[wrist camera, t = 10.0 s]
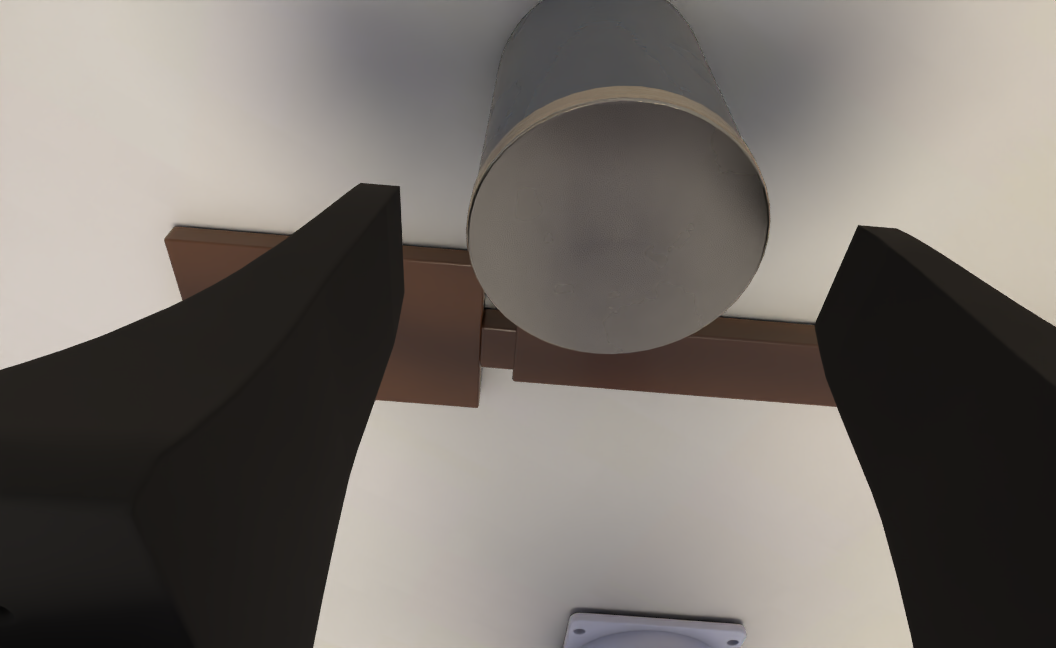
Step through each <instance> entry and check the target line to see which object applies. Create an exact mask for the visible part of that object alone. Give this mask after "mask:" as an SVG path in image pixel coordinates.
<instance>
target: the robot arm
mask: <svg viewBox="0 0 1056 648" xmlns="http://www.w3.org/2000/svg"><path fill="white" fill-rule="evenodd" d="M404 293H405V289H404V267H403V245H402V224H401V202H400V186H390V185H378V184H367V183H360V184H358V185H357V186H355V187H354V188H353V189H351V190H350V191H349V192H347V193H346V194H345V195H343V196H342V197H341V198H340V199H338V200H337V201H336V202H334V203H333V204H332V205H331V206H329V207H328V208H327V209H325V210H324V211H323V212H322V213H320V214H319V215H318V216H316V217H315V218H314V219H312V220H311V221H310V222H308V223H307V224H305V225H304V226H303V227H301V228H300V229H299V230H297V231H296V232H295V233H293V234H292V235H291V236H289V237H288V238H287V239H285V240H284V241H282V242H281V243H279V244H278V245H276V246H275V247H273V248H272V249H270V250H268V251H267V252H265V253H264V254H262V255H261V256H259V257H258V258H256V259H255V260H253V261H252V262H250V263H249V264H247V265H246V266H244V267H243V268H241V269H240V270H238V271H236V272H235V273H233V274H231V275H229V276H228V277H226V278H224V279H223V280H221V281H219V282H217V283H215V284H214V285H212V286H210V287H208V288H206V289H204V290H202V291H200V292H198V293H197V294H195V295H193V296H191V297H189V298H187V299H185V300H183V301H181V302H179V303H177V304H175V305H173V306H171V307H169V308H166V309H164V310H162V311H159V312H157V313H155V314H152V315H150V316H148V317H145V318H143V319H141V320H138V321H136V322H134V323H131V324H129V325H127V326H124V327H122V328H120V329H117V330H115V331H113V332H110V333H108V334H105V335H103V336H100V337H98V338H95V339H92V340H89V341H87V342H84V343H81V344H78V345H75V346H73V347H70V348H67V349H64V350H62V351H59V352H55V353H52V354H49V355H46V356H43V357H40V358H37V359H34V360H31V361H28V362H25V363H22V364H18V365H15V366H12V367H8V368H5V369H2V370H0V648H313V645H314V640H315V635H316V630H317V625H318V620H319V615H320V609H321V604H322V599H323V594H324V589H325V585H326V580H327V575H328V571H329V566H330V561H331V556H332V552H333V547H334V542H335V538H336V533H337V529H338V524H339V520H340V515H341V511H342V507H343V502H344V498H345V494H346V489H347V485H348V480H349V477H350V473H351V470H352V467H353V463H354V460H355V456H356V453H357V450H358V447H359V444H360V442H361V439H362V436H363V433H364V430H365V427H366V424H367V422H368V419H369V416H370V413H371V410H372V407H373V404H374V402H375V399H376V396H377V393H378V390H379V387H380V384H381V382H382V379H383V376H384V373H385V370H386V367H387V364H388V361H389V358H390V355H391V352H392V349H393V346H394V343H395V338H396V334H397V329H398V324H399V319H400V314H401V309H402V303H403V298H404ZM814 327H815V332H816V337H817V342H818V347H819V352H820V356H821V360H822V364H823V368H824V373H825V377H826V380H827V382H828V385H829V388H830V390H831V393H832V395H833V398H834V401H835V403H836V406H837V408H838V411H839V413H840V416H841V418H842V421H843V423H844V426H845V428H846V431H847V433H848V435H849V438H850V440H851V443H852V445H853V448H854V450H855V453H856V455H857V457H858V460H859V462H860V465H861V467H862V470H863V472H864V475H865V477H866V480H867V482H868V484H869V487H870V489H871V492H872V494H873V497H874V500H875V503H876V506H877V509H878V511H879V514H880V517H881V520H882V524H883V527H884V531H885V534H886V538H887V542H888V545H889V549H890V553H891V556H892V560H893V564H894V567H895V571H896V575H897V579H898V583H899V587H900V591H901V595H902V600H903V604H904V608H905V612H906V616H907V621H908V625H909V629H910V633H911V638H912V643H913V648H1056V327H1055V326H1053V325H1052V324H1050V323H1048V322H1047V321H1045V320H1043V319H1042V318H1040V317H1038V316H1037V315H1035V314H1034V313H1032V312H1030V311H1029V310H1027V309H1026V308H1024V307H1022V306H1021V305H1019V304H1018V303H1016V302H1015V301H1013V300H1011V299H1010V298H1008V297H1007V296H1005V295H1004V294H1002V293H1001V292H999V291H998V290H996V289H994V288H993V287H991V286H990V285H988V284H987V283H985V282H984V281H982V280H981V279H979V278H978V277H976V276H975V275H973V274H972V273H970V272H969V271H967V270H965V269H964V268H962V267H961V266H959V265H958V264H956V263H955V262H953V261H952V260H950V259H949V258H947V257H946V256H944V255H942V254H941V253H939V252H938V251H936V250H934V249H933V248H931V247H930V246H928V245H926V244H925V243H923V242H921V241H920V240H918V239H916V238H914V237H913V236H911V235H909V234H907V233H905V232H903V231H901V230H899V229H896V228H884V227H872V226H861V225H858V227H857V229H856V231H855V234H854V236H853V238H852V240H851V243H850V245H849V247H848V250H847V252H846V254H845V256H844V259H843V261H842V263H841V266H840V268H839V270H838V272H837V275H836V277H835V279H834V282H833V284H832V286H831V288H830V291H829V293H828V295H827V297H826V300H825V302H824V304H823V307H822V309H821V311H820V313H819V316H818V318H817V320H816V323H815V325H814ZM746 637H747V634H746V629H745V627H744V626H742V625H740V624H732V623H718V622H704V621H690V620H677V619H663V618H649V617H635V616H621V615H608V614H594V613H575V614H573V615H571V617H570V619H569V623H568V627H567V632H566V636H565V640H564V645H563V648H740V647H741V646H742V644H743V642H744V640H745V639H746Z"/></svg>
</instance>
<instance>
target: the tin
mask: <svg viewBox="0 0 1056 648" xmlns="http://www.w3.org/2000/svg"><path fill="white" fill-rule="evenodd" d="M769 230H770V203H769V198H768V193H767V188H766V185H765V182H764V180H763V177H762V174H761V172H760V169H759V167H758V165H757V163H756V161H755V159H754V157H753V155H752V153H751V152H750V150H749V148H748V147H747V145H746V143H745V142H744V141H743V139H742V138H741V136H740V134H739V132H738V130H737V127H736V125H735V123H734V121H733V119H732V116H731V114H730V112H729V110H728V108H727V105H726V103H725V101H724V99H723V97H722V94H721V92H720V90H719V88H718V86H717V83H716V81H715V79H714V77H713V75H712V72H711V70H710V68H709V66H708V64H707V61H706V59H705V57H704V55H703V53H702V50H701V48H700V46H699V44H698V42H697V39H696V37H695V35H694V33H693V32H692V30H691V28H690V26H689V25H688V23H687V22H686V20H685V19H684V18H683V17H682V15H681V14H680V13H679V12H678V11H677V10H676V9H675V8H674V7H673V6H672V5H671V4H670V3H669V2H667V1H666V0H543V1H542V2H541V3H539V4H538V5H537V6H536V7H534V8H533V9H532V10H531V11H530V12H529V13H528V14H527V15H526V16H525V17H524V18H523V19H522V20H521V22H520V23H519V24H518V26H517V27H516V28H515V30H514V31H513V33H512V35H511V37H510V38H509V40H508V42H507V44H506V46H505V49H504V51H503V54H502V57H501V61H500V65H499V69H498V74H497V79H496V84H495V89H494V95H493V100H492V105H491V110H490V116H489V121H488V126H487V132H486V137H485V142H484V147H483V153H482V158H481V163H480V169H479V174H478V177H477V180H476V182H475V184H474V188H473V192H472V196H471V200H470V205H469V210H468V217H467V227H466V234H467V248H468V253H469V257H470V262H471V265H472V267H473V270H474V273H475V275H476V278H477V280H478V281H479V283H480V285H481V287H482V289H483V291H484V292H485V294H486V295H487V296H488V298H489V299H490V300H491V302H492V303H493V304H494V306H495V307H496V308H497V309H498V310H499V311H500V312H501V313H502V314H503V315H504V316H505V317H506V318H508V319H509V320H510V321H511V322H513V323H514V324H515V325H516V326H518V327H519V328H521V329H523V330H524V331H526V332H527V333H529V334H531V335H533V336H535V337H537V338H539V339H541V340H543V341H545V342H548V343H551V344H553V345H556V346H559V347H562V348H566V349H571V350H575V351H579V352H587V353H595V354H622V353H633V352H639V351H645V350H650V349H654V348H658V347H661V346H665V345H668V344H670V343H673V342H676V341H678V340H681V339H683V338H685V337H687V336H689V335H691V334H693V333H695V332H697V331H699V330H700V329H702V328H703V327H705V326H707V325H708V324H710V323H711V322H713V321H714V320H715V319H717V318H718V317H719V316H720V315H722V314H723V313H724V312H725V311H726V310H727V309H728V308H729V307H730V306H731V305H732V304H733V303H734V302H735V301H736V300H737V299H738V298H739V297H740V296H741V294H742V293H743V292H744V291H745V289H746V288H747V287H748V285H749V284H750V282H751V280H752V279H753V277H754V275H755V274H756V272H757V270H758V268H759V265H760V263H761V261H762V258H763V256H764V253H765V249H766V246H767V242H768V238H769Z"/></svg>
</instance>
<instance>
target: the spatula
mask: <svg viewBox="0 0 1056 648" xmlns="http://www.w3.org/2000/svg"><path fill="white" fill-rule="evenodd" d="M288 237H289V236H286V235H274V234H261V233H249V232H237V231H225V230H213V229H201V228H189V227H177V226H176V227H173V229H172V230H171V231H170V232H169V234H168V235H167V236H166V237H165V239H164V241H165V245H166V248H167V251H168V254H169V258H170V261H171V264H172V268H173V271H174V274H175V277H176V281H177V284H178V287H179V291H180V294H181V297H182V300H185V299H187V298H189V297H191V296H193V295H195V294H197V293H198V292H200V291H202V290H204V289H206V288H208V287H210V286H212V285H214V284H215V283H217V282H219V281H221V280H223V279H224V278H226V277H228V276H229V275H231V274H233V273H235V272H236V271H238V270H240V269H241V268H243V267H244V266H246V265H247V264H249V263H250V262H252V261H253V260H255V259H256V258H258V257H259V256H261V255H262V254H264V253H265V252H267V251H268V250H270V249H272V248H273V247H275V246H276V245H278V244H279V243H281V242H282V241H284V240H285V239H287V238H288ZM403 267H404V289H405V293H404V298H403V303H402V309H401V314H400V319H399V324H398V329H397V334H396V338H395V343H394V346H393V349H392V352H391V355H390V358H389V361H388V364H387V367H386V370H385V373H384V376H383V379H382V382H381V384H380V387H379V390H378V393H377V396H376V399H375V400H383V401H396V402H409V403H421V404H434V405H447V406H460V407H472V408H478V406H479V399H480V387H481V367H489V368H502V369H513V377H512V379H513V381H517V382H529V383H542V384H554V385H567V386H580V387H592V388H605V389H618V390H630V391H643V392H655V393H668V394H681V395H693V396H706V397H719V398H731V399H744V400H756V401H769V402H782V403H794V404H807V405H820V406H832V407H837V406H836V403H835V401H834V398H833V395H832V393H831V390H830V388H829V385H828V382H827V380H826V377H825V373H824V368H823V364H822V360H821V356H820V352H819V347H818V342H817V337H816V332H815V327H814V325H808V324H796V323H784V322H772V321H759V320H747V319H735V318H723V317H718V318H717V319H715V320H714V321H713V322H711V323H710V324H708V325H707V326H705V327H703V328H702V329H700V330H699V331H697V332H695V333H693V334H691V335H689V336H687V337H685V338H683V339H681V340H678V341H676V342H673V343H670V344H668V345H665V346H661V347H658V348H654V349H650V350H645V351H639V352H633V353H622V354H595V353H587V352H579V351H575V350H571V349H566V348H562V347H559V346H556V345H553V344H551V343H548V342H545V341H543V340H541V339H539V338H537V337H535V336H533V335H531V334H529V333H527V332H526V331H524V330H523V329H521V328H519V327H518V326H516V325H515V324H514V323H513V322H511V321H510V320H509V319H508V318H506V317H505V316H504V315H503V314H502V313H501V312H500V311H499V310H494V309H485V310H484V299H485V292H484V291H483V289H482V287H481V285H480V283H479V281H478V280H477V278H476V275H475V273H474V270H473V267H472V265H471V262H470V257H469V253H468V251H466V250H454V249H442V248H430V247H418V246H406V245H403Z"/></svg>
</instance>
